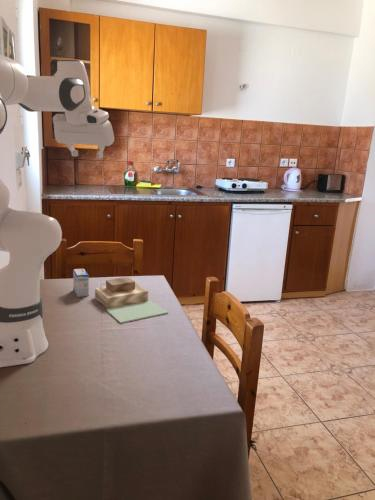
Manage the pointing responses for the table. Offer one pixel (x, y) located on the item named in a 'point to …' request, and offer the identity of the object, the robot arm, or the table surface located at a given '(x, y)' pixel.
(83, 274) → the medicine box
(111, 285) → the walnut tile
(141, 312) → the sage green mat
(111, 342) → the table surface
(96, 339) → the table surface
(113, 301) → the beech block
